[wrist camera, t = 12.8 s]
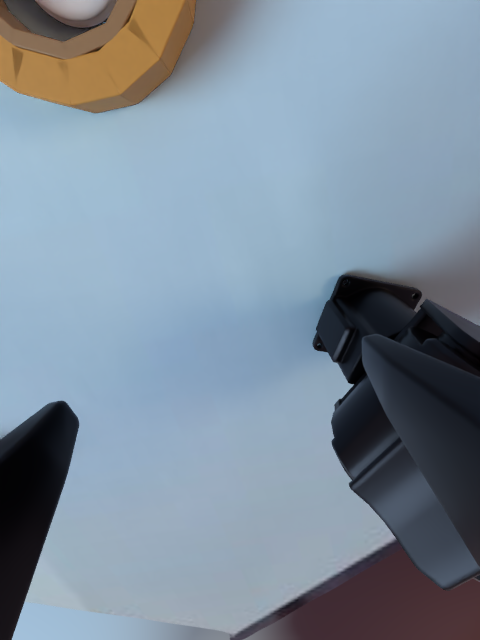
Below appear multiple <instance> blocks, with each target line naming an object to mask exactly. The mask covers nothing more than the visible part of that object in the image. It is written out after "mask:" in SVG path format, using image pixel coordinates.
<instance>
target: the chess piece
mask: <svg viewBox="0 0 480 640" xmlns="http://www.w3.org/2000/svg"><path fill="white" fill-rule="evenodd" d="M35 1H36V2H37V3H38V5H39V6H40V7H41V8H42V9H43V10H44V11H46V12H47V13H48V14H49V15H51V16H52V17H53V18H55V19H56V20H58V21H60V22H62V23H64V24H67V25H69V26H73V27H80V28H86V27H92V26H95V25H98V24H100V23H101V22H103V21H104V20H106V19H107V18H108V17H109V15H110V13H111V12H112V10H113V8H114V6H115V4H116V2H117V0H35Z"/></svg>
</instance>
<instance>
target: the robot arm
mask: <svg viewBox="0 0 480 640" xmlns="http://www.w3.org/2000/svg"><path fill="white" fill-rule="evenodd" d="M345 280H348V282H347V283H346V284H343V282H344V281H345ZM414 293H415V295H414V296H413V297H412V295H413V294H414ZM421 296H422V293H421V291H419V290H418V289H416V288H413V287H408V286H403V285H397V284H392V283H387V282H382V281H377V280H372V279H367V278H362V277H357V276H352V275H342V276H340V277H339V279H338V281H337V283H336V286H335V288H334V291H333V293H332V296H331V298H330V300H328V301H327V302H326V304H325V307H324V309H323V312H322V315H321V317H320V320H319V322H318V325H317V327H316V330H317V333H316V335H315V338H314V340H313V347H314V349H315V350H317V351H323V352H328V353H329V355H330V357H331V359H332V361H333V362H336V363H338V364H339V366H340V368H341V370H342V372H343V374H344V375H345V377H346V379H347V381H348V383H350V384H354V385H353V387H352V388H351V389H350V390H349V391H348V392H347V393H346V395H345V396H344V397H343V398H342V399H339V400H338V401H337V402H336V404H335V412H334V413H333V417H332V421H331V424H332V429H333V434H334V437H335V438H334V439H333V440H332V446H333V449H334V451H335V453H336V455H337V457H338V459H339V461H340V463H341V465H342V466H343V468H344V470H345V471H346V473H347V474H348V475H349V477H350V478H351V479H352V481H351V482H350V483H349V486H350V488H351V490H353V491H354V492H355V493H356V494H357V495H358V496H359V497H361V498H362V499H363V500H364V501H365V502H366V503H368V504H369V505H370V507H371V508H372V509H373V510H374V511H375V512H376V513H377V514H378V515H379V517H380V518H381V519H382V520H383V521H384V522H385V524H386V525H387V526H388V528H389V529H390V530H391V532H392V533H393V535H394V536H395V537H396V539H397V540H398V542H399V543H400V545H401V546H402V548H403V549H404V551H405V552H406V554H407V555H408V556H409V558H410V559H411V561H412V562H413V564H414V565H415V566H416V568H417V569H418V570H420V571H421V572H422V573H423V574H424V575H426V576H427V577H428V578H429V579H431V580H432V581H433V582H434V583H435V584H437V585H438V586H439V587H440V588H442V589H444V590H447V591H450V590H452V589H454V588H456V587H457V586H459V585H461V584H463V583H465V582H467V581H469V580H471V579H475V580H477V581H479V582H480V326H478V325H476V324H474V323H472V322H470V321H469V320H467V319H465V318H463V317H461V316H459V315H457V314H455V313H453V312H451V311H449V310H447V309H445V308H444V307H442V306H440V305H438V304H436V303H434V302H432V301H430V300H428V299H426V300H425V301H424V302H423V304H422V305H421V306H420V307H421V309H420V310H419V311H418V312H417V313H416V312H415V311H414V309H415V307H416V305H417V304H418V302H419V300H420V298H421ZM319 343H322V344H321V345H318V344H319ZM78 428H79V420H78V418H77V416H76V415H75V414H74V412H73V411H72V409H71V408H70V407H69V405H68V404H67V403H66V402H64V401H57V402H52V403H49V404H47V405H46V406H45V407H43V408H42V409H41V410H39V411H38V412H37V413H35V414H34V415H33V416H31V417H30V418H29V419H27V420H26V421H25V422H23V423H22V424H21V425H19V426H18V427H17V428H15V429H14V430H13V431H11V432H10V433H9V434H7V435H6V436H5V437H3V438H2V439H1V440H0V640H12V637H13V633H14V631H15V628H16V625H17V622H18V619H19V616H20V613H21V610H22V607H23V604H24V601H25V598H26V596H27V593H28V590H29V587H30V584H31V581H32V578H33V575H34V572H35V569H36V566H37V563H38V560H39V557H40V554H41V551H42V548H43V545H44V543H45V540H46V537H47V534H48V531H49V528H50V525H51V522H52V519H53V516H54V513H55V510H56V507H57V504H58V501H59V498H60V495H61V492H62V489H63V487H64V484H65V480H66V477H67V474H68V470H69V466H70V462H71V458H72V453H73V449H74V445H75V441H76V437H77V432H78Z"/></svg>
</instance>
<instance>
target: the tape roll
mask: <svg viewBox="0 0 480 640" xmlns="http://www.w3.org/2000/svg"><path fill="white" fill-rule="evenodd" d="M195 5H196V0H117V2H116V4H115V6H114V8H113V10H112V12H111V13H110V15H109V17H108V19H107V21H106V23H105V24H102V25H100V26H98V27H96V28H94V29H91V30H89V31H87V32H85V33H82V34H80V35H78V36H76V37H73V38H71V39H69V40H67V41H64V42H63V41H59V40H56V39H52V38H49V37H45V36H41V35H38V34H34V33H32V32H31V31H30V30H28V29H27V28H26V27H25V26H24V25H23V24H22V23H21V22H20V21H19V20H18V19H17V18H16V17H14V16H13V15H12V14H11V13H10V12H9V10H8V8H7V6H6V4H5V2H4V0H0V81H1V82H2V83H4V84H5V85H7V86H8V87H10V88H11V89H13V90H14V91H16V92H18V93H21V94H24V95H28V96H31V97H35V98H38V99H42V100H45V101H48V102H52V103H56V104H60V105H64V106H68V107H72V108H76V109H80V110H84V111H88V112H92V113H100V112H104V111H109V110H113V109H118V108H122V107H127V106H131V105H136V104H138V103H139V102H140V101H142V100H143V99H144V98H145V97H146V96H147V95H148V94H150V93H151V92H152V91H153V90H154V89H155V88H156V87H158V86H159V85H160V84H161V83H162V82H163V81H164V80H166V79H167V78H168V77H169V76H170V75H171V73H172V71H173V69H174V67H175V64H176V62H177V60H178V58H179V56H180V53H181V51H182V49H183V47H184V45H185V42H186V40H187V38H188V36H189V34H190V31H191V29H192V27H193V23H194V15H195Z"/></svg>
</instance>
